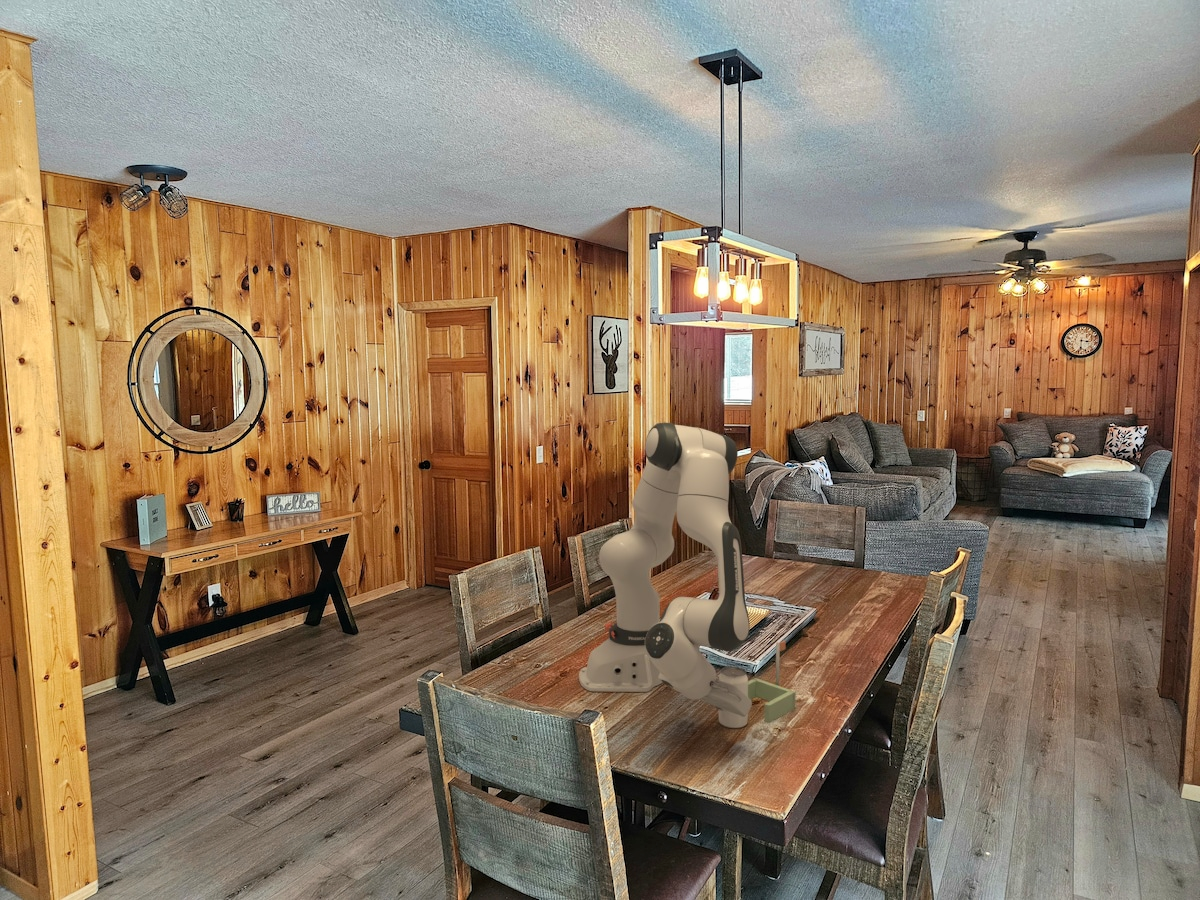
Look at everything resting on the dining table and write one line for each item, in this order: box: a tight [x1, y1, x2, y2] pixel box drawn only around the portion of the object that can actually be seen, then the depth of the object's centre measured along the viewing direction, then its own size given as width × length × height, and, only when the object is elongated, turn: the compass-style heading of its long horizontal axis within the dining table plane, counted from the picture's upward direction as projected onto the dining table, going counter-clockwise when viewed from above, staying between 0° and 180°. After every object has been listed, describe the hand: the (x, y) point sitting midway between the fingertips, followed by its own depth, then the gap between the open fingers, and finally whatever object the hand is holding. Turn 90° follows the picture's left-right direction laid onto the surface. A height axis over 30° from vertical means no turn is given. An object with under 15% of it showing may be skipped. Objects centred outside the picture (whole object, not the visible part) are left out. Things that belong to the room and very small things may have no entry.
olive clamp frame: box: [748, 640, 797, 723], centre depth 184 cm, size 15×11×14 cm
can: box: [718, 666, 749, 729], centre depth 176 cm, size 6×6×12 cm
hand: (722, 706), depth 173 cm, fingers closed
